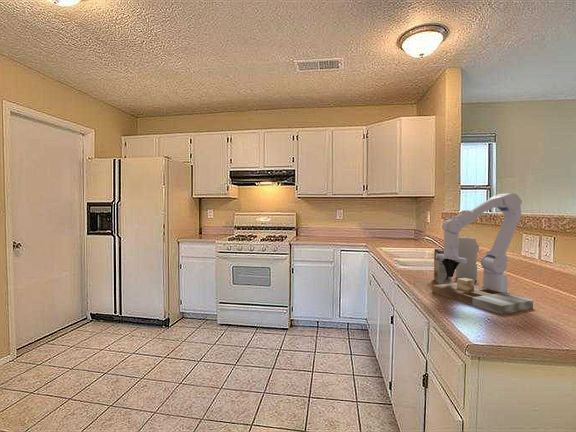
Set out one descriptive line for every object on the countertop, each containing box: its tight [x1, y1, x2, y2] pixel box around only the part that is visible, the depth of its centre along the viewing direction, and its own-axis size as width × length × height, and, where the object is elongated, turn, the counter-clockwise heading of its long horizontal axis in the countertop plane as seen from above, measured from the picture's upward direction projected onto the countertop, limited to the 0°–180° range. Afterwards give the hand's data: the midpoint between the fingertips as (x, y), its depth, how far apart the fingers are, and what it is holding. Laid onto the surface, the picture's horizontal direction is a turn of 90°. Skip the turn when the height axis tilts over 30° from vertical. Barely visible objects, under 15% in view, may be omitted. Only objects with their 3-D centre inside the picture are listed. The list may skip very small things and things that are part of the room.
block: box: [456, 278, 475, 290], centre depth 132 cm, size 4×4×4 cm
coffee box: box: [433, 248, 453, 285], centre depth 155 cm, size 9×6×16 cm
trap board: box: [431, 281, 534, 315], centre depth 126 cm, size 18×30×3 cm, turn 23°
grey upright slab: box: [455, 236, 480, 282], centre depth 162 cm, size 11×4×22 cm, turn 51°
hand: (450, 276), depth 139 cm, fingers closed
